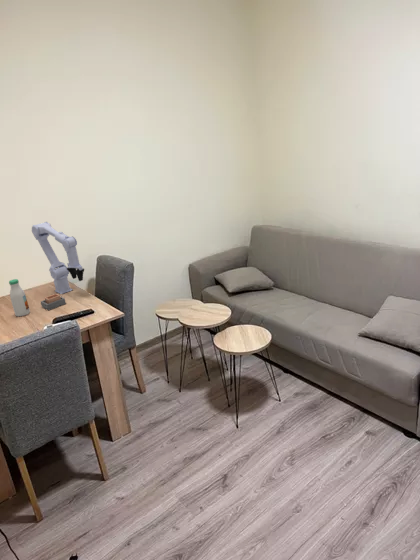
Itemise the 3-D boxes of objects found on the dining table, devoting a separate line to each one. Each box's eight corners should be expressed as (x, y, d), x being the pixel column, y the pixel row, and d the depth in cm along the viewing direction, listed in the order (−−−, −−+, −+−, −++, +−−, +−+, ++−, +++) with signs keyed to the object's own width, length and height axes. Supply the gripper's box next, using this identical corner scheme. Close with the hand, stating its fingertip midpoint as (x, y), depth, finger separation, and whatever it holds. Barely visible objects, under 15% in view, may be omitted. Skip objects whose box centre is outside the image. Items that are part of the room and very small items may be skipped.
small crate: (46, 305, 230) (44, 297, 228) (58, 301, 235) (56, 293, 233) (50, 307, 227) (48, 299, 225) (62, 303, 231) (60, 295, 229)
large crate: (41, 307, 230) (40, 301, 229) (59, 300, 237) (57, 295, 236) (48, 310, 224) (47, 304, 223) (66, 303, 231) (64, 298, 230)
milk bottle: (24, 316, 219) (15, 282, 212) (12, 316, 221) (2, 283, 214) (33, 310, 226) (23, 277, 219) (21, 310, 228) (11, 278, 221)
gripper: (60, 257, 237) (65, 279, 242) (72, 261, 227) (77, 283, 232) (71, 254, 242) (76, 275, 246) (83, 258, 232) (88, 279, 237)
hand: (77, 279), depth 240 cm, fingers open, 7 cm apart
